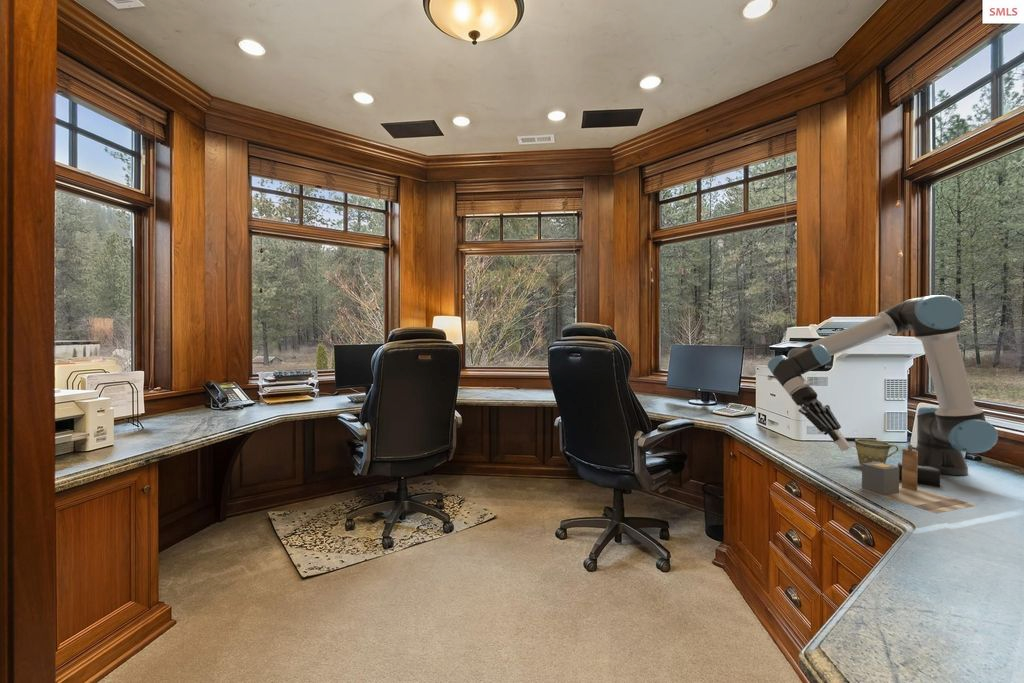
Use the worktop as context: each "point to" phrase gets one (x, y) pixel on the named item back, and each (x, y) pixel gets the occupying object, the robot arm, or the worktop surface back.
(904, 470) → the wooden tool handle
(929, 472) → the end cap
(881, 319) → the robot arm
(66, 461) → the worktop surface
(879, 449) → the ceramic cup
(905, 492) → the birch board
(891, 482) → the grey box with label
